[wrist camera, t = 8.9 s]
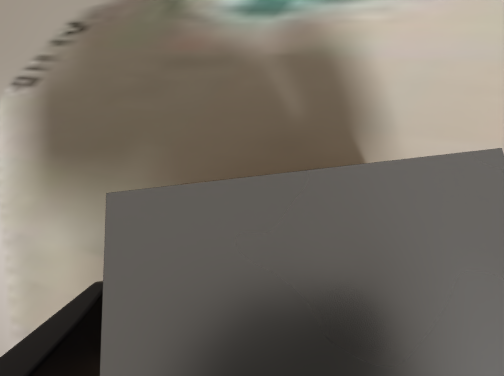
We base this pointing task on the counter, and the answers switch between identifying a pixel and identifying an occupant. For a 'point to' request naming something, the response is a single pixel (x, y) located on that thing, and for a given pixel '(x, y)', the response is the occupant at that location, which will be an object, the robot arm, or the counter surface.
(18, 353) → the robot arm
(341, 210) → the grey square pillar
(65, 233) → the counter surface
